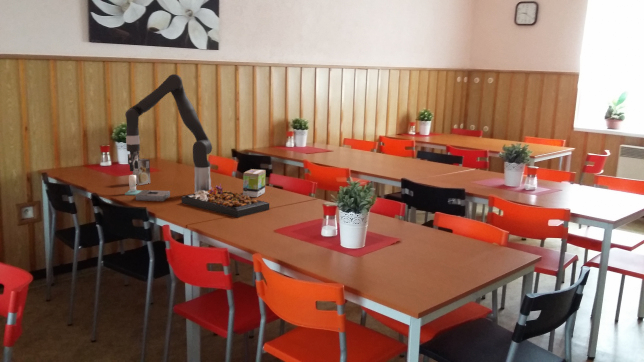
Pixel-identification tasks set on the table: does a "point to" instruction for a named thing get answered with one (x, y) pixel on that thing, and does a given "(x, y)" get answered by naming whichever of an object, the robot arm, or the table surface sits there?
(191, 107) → the robot arm
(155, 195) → the socket block
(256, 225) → the table surface
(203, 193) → the food platter
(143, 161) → the coffee box
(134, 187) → the cream rounded tapered piece
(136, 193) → the teal square tile
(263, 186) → the tea box
